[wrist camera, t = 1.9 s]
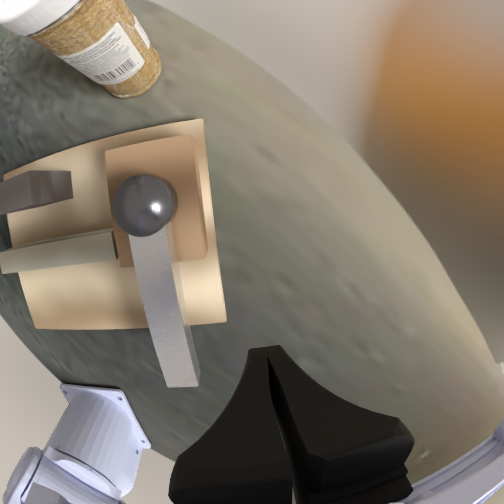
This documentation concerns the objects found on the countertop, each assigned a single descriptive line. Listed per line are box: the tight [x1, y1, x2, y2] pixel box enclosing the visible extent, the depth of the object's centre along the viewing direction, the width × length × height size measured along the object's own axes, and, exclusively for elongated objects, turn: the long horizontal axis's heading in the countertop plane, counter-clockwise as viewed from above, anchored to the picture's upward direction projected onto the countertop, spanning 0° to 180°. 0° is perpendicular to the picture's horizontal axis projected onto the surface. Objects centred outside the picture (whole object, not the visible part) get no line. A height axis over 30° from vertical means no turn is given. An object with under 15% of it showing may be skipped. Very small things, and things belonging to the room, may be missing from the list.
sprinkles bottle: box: [0, 0, 161, 98], centre depth 9 cm, size 5×5×14 cm
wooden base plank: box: [0, 119, 226, 329], centre depth 15 cm, size 14×18×6 cm
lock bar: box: [113, 175, 200, 387], centre depth 14 cm, size 12×3×2 cm, turn 5°
